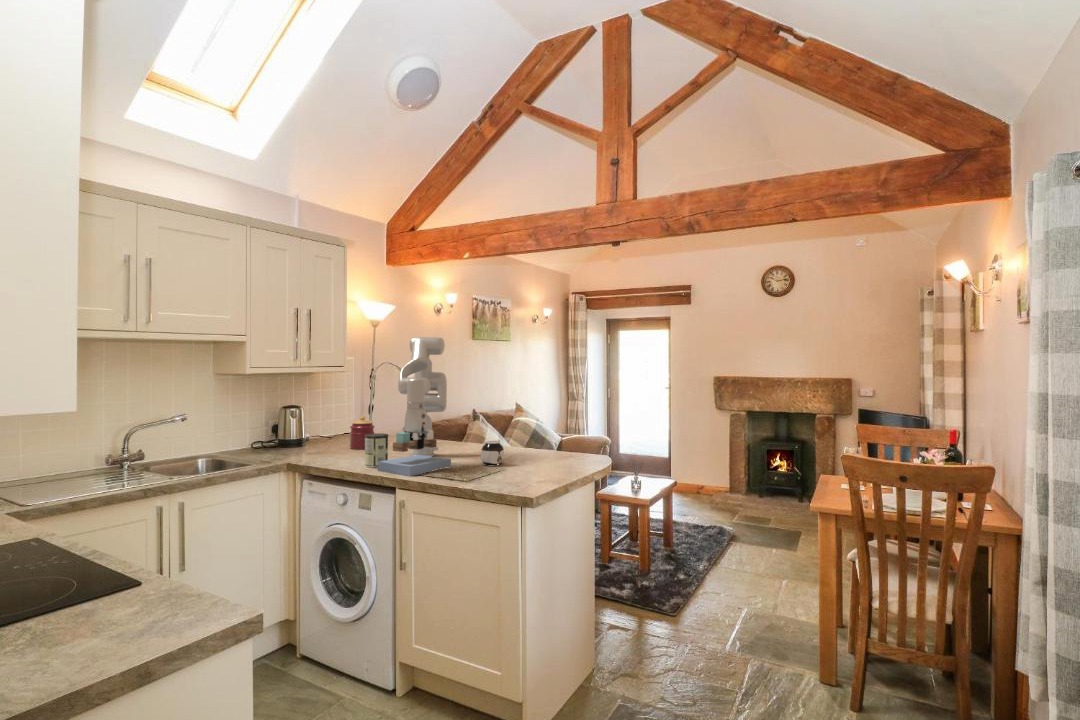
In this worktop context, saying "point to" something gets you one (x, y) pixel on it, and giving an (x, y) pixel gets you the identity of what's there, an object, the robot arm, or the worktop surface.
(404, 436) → the teal cube
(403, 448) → the brown long wavy block
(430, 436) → the cream cube
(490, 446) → the spread jar
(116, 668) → the worktop surface
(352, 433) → the canister
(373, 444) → the coffee can
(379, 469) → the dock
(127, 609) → the worktop surface
